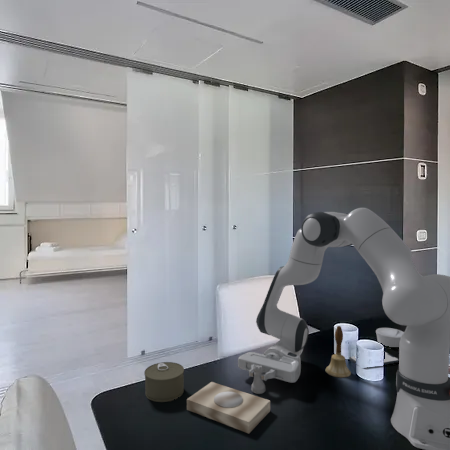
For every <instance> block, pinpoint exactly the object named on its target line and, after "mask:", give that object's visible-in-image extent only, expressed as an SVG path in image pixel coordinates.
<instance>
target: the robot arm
mask: <svg viewBox="0 0 450 450" xmlns="http://www.w3.org/2000/svg"><path fill="white" fill-rule="evenodd" d="M350 246H353V247H354V248H355V250H356V251H357V252H358V254H359V255H360V256H361V257H362V259H363V260H364V261H365V263H367V265H368V267H370V269H371V270H372V272H373V273H374V274H375V277H377V280H378V282H379V284H380V287H381V290H382V299H381V302H382V308H383V311H384V314H385V315H386V316H387V317H388V319H389V320H391V321H392V322H393V323H395V324H397V325H400V326H406V327H405V330H404V331H403V332H404V333H403V335H402V336H401V339H400V343H399V349H398V353H399V354H398V359H399V364H398V367H397V370H396V373H395V375H396V378H395V380H396V381H395V386H396V387H395V388H396V394H397V395H396V401H395V405H394V408H393V412H392V415H391V418H390V424H391V425H392V427H393V428H394V429H395V430H396V431H397V433H399V434H401V436H403V437H405V438H406V439H407V440H408V441H409V442H410V444H411V445H412V446H414V447H415V448H417V449H422V450H450V376H449V369H450V368H449V365H450V276H449V275H444V274H439V273H438V274H437V273H431V274H428V275H422V274H421V273H420V272H419V271H418V269H417V267H416V265H415V263H414V260H413V259H412V258H413V257H412V256H413V253H412V252H413V251H412V249H411V248H410V247H409V246H408V245H407V244H406V243H405V241H404V240H403V239H402V238H401V237H400V235H398V233H397V232H396V231H394V229H393V228H392V227H391V226H390V225H389V224H388V223H387V222H386V221H385V220H384V219H383V218H382V217H380V216H379V215H378V214H377V213H375V212H374V211H373V210H371V209H369V208H368V207H357V208H355V209H353V210H352V211H350V212H349V213H343V212H336V211H324V212H323V211H317V212H313V213H310V214H308V215H307V216H306V217H305V218H303V220H302V223H301V227H300V228H299V229H298V230H297V231H296V234H295V237H294V239H293V242H292V246H291V248H290V252H289V257H288V260H287V262H286V263H285V265H283V266H280V267H279V268H278V269H277V271H276V272H275V274H274V276H273V278H272V281H271V283H270V286H269V288H268V290H267V293H266V296H265V298H264V301H263V304H262V306H261V308H260V310H259V312H258V314H257V316H256V321H255V323H256V326H257V329H258V330H259V332H260V333H261V334H265V335H268V336H271V337H274V338H276V339H278V341H277V342H276V343H274V344H273V345H271V346H270V347H268V348H267V349H266V350H265V351H264V353H258V352H254V351H249V352H246V353H243V354H241V355H239V356H238V357H237V366H238V369H241V370H244V371H248V376H249V377H252V378H254V372H255V371H254V370H253V367H254V365H255V366H256V364H257V365H259V364H260V366H261V364H262V367H263V368H264V369H263V371H262V374H261V380H263V381H265V382H267V380H270V379H277V380H280V381H283V382H288V383H291V384H292V383H296V382H297V381H298V379H300V376H301V372H302V371H301V369H302V364H301V363H302V362H301V355H302V353H303V351H304V348H305V346H306V344H307V342H308V338H309V333H310V331H309V330H310V329H309V328H308V324H307V322H306V320H305V319H303V318H301V317H299V316H297V315H295V314H291V313H289V312H286V311H284V310H281V309H279V308H278V303H279V301H280V297H281V295H282V293H283V290H284V288H285V287H288V286H303V285H307V284H308V285H309V284H311V283H313V282H315V281H316V280H317V279H318V277H319V275H320V273H321V270H322V265H323V261H324V255H325V252H326V250H327V249H328V248H341V247H350Z"/></svg>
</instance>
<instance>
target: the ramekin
mask: <svg viewBox="0 0 450 450" xmlns="http://www.w3.org/2000/svg"><path fill="white" fill-rule="evenodd" d="M404 332H405V331H402V330H401V329H397V328H391V327H379V328H376V330H375V333H376V339H377V343H378V342H379V343H382V344H383V345H385V346H389V347H399V343H400V339H401V336H402V335H403V333H404ZM379 343H378V344H379Z"/></svg>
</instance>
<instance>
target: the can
mask: <svg viewBox="0 0 450 450" xmlns="http://www.w3.org/2000/svg"><path fill="white" fill-rule="evenodd" d="M184 374H185V368H184V366H183V365H182V364H180V363H177V362H173V361H164V362H157V363H154V364H151V365H149V366H148V367H147V368H145V370H144V380H145V383H144V385H145V388H144V389H145V397H146V398H147V399H148V400H150V401H152V402H156V403H157V402H158V403H165V402H172V401H174V399H175V400H177V399H179V398H180V397H181V396H183V393H184V390H185V388H184V385H185V383H184V381H185V379H184V376H185V375H184ZM178 397H179V398H178Z"/></svg>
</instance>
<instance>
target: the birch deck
mask: <svg viewBox="0 0 450 450" xmlns="http://www.w3.org/2000/svg"><path fill="white" fill-rule="evenodd" d="M186 410H187V411H189V412H192V413H195V414H198V415H200V416H202V417H206V418H207V419H210V420H211V421H212V420H213V421H216V422H217V423H220V424H223V425H225V426H227V427H231V428H233V429H236V430H239V431H241V432H242V433H243V432H244V433H246V434H249V435H250V433H251V432H252V431H253V430H254V429H255V428H256V427H257V426H258V425H259V423H261V421H263V419H265V417H266V416H267V415H268V414H269V413H270V412H271V400H269V399H267V398H263V397H260V396H257V395H254V394H252V393H251V394H250V393H247V392H245V391H241V390H239V389H236V388H232V387H229V386H227V385H224V384H223V385H222V384H219V383H218V382H217V383H216V382H214V381H211V382H209V383H207V384H206V385H205V386H202V388H200V389H199V390H198V391H196V392H195V393H193V394H192V395H191V396H189V397H187V399H186Z"/></svg>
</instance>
